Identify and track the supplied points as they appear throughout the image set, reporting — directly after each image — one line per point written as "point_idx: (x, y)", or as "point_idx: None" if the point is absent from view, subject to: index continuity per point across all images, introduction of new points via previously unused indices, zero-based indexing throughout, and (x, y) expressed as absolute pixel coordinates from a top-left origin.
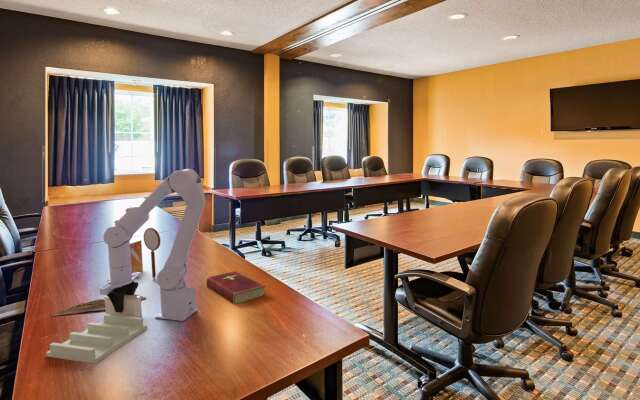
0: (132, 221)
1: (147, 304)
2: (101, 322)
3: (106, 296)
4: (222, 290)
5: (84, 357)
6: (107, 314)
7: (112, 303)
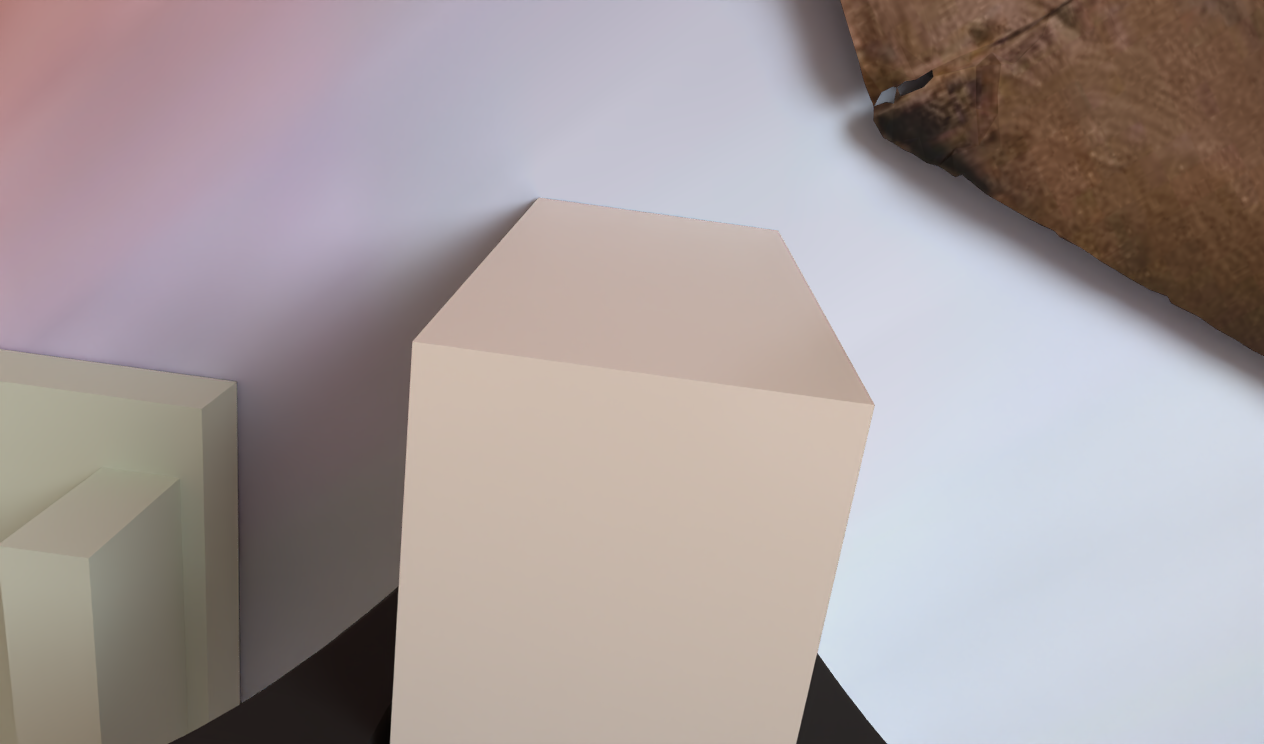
0: None
1: (1213, 718)
2: (68, 429)
3: (489, 385)
4: None
5: None
6: (61, 613)
7: (298, 675)
